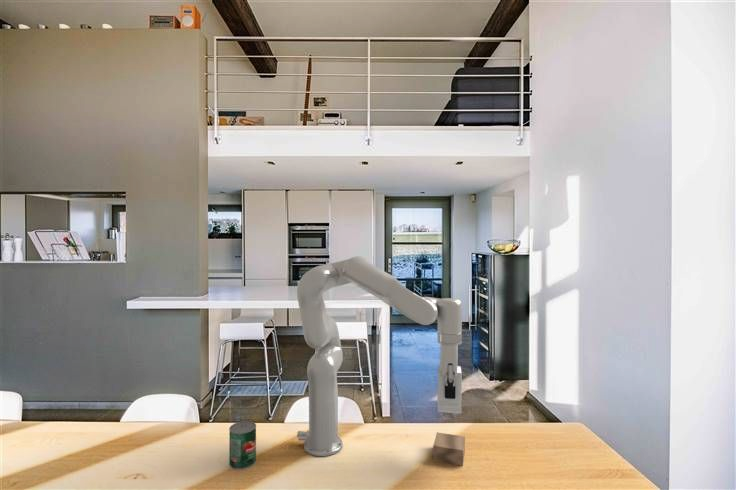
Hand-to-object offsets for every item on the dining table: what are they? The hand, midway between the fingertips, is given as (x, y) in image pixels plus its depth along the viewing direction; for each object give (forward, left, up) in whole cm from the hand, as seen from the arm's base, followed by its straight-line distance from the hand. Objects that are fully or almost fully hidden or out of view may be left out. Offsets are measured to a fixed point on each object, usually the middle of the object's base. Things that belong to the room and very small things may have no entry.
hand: (449, 392), depth 125 cm
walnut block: (0, 0, -20) cm, 20 cm away
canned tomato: (-63, -14, -20) cm, 68 cm away
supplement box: (0, 0, -5) cm, 5 cm away
